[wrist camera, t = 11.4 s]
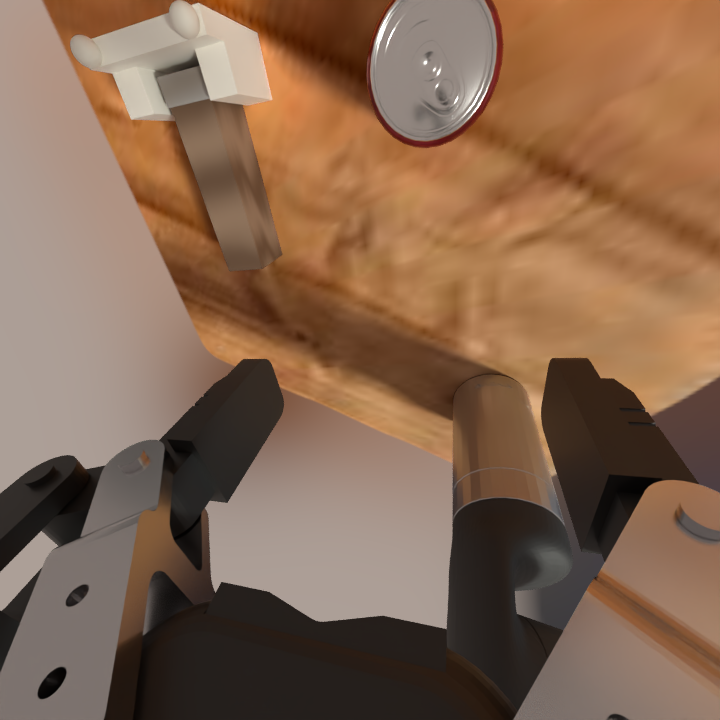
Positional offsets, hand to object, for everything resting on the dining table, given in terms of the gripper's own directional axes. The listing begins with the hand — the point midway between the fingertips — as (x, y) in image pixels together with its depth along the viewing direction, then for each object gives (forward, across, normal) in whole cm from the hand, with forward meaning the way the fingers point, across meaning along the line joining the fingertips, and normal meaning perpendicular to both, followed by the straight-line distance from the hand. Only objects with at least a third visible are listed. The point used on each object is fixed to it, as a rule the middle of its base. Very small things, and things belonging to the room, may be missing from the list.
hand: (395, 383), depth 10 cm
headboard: (+28, +19, -14) cm, 36 cm away
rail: (+28, +19, -6) cm, 34 cm away
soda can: (+28, -1, -9) cm, 29 cm away
